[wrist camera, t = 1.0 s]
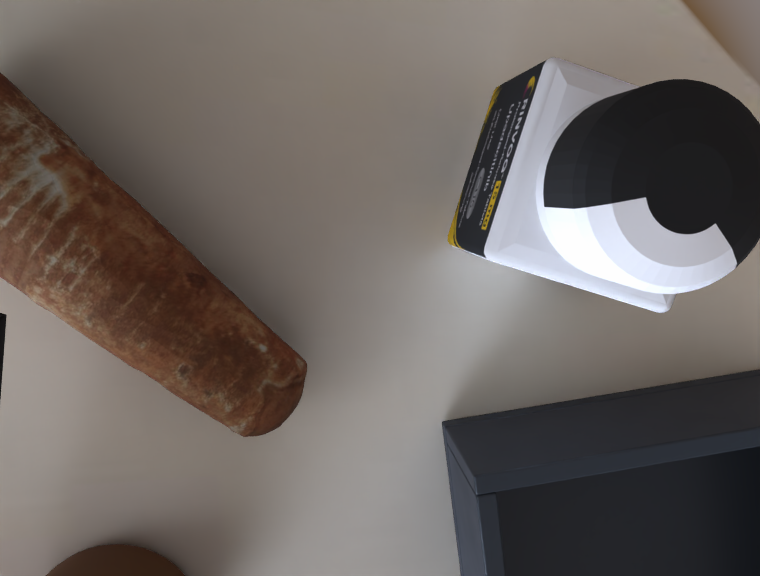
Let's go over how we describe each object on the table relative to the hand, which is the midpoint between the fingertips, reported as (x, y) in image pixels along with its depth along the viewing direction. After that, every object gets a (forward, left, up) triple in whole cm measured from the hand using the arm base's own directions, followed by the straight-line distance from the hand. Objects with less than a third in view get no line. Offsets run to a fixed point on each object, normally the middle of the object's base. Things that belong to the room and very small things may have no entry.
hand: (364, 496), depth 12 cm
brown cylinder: (-4, -8, -20) cm, 22 cm away
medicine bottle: (-4, +10, -20) cm, 23 cm away
